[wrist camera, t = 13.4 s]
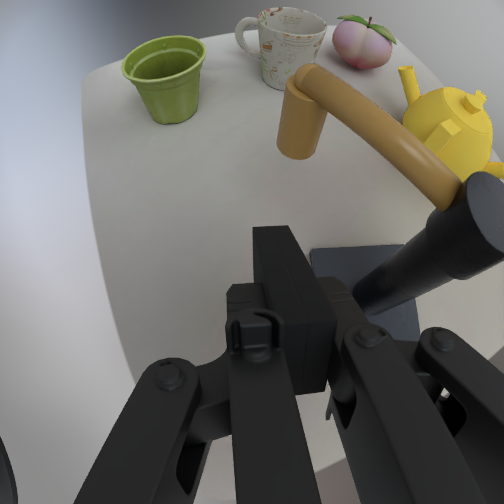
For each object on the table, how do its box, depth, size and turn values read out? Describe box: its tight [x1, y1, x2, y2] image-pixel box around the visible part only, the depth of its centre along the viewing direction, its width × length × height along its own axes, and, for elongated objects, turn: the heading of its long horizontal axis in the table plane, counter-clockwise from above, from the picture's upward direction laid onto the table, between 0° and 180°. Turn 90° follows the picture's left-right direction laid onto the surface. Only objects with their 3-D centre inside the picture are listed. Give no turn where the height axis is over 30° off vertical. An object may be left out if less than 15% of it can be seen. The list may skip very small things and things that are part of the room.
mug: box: [235, 7, 327, 91], centre depth 34 cm, size 8×13×10 cm, turn 59°
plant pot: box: [121, 36, 206, 124], centre depth 32 cm, size 9×9×9 cm
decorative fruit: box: [332, 15, 396, 69], centre depth 36 cm, size 9×8×10 cm
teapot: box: [398, 66, 504, 182], centre depth 30 cm, size 20×18×11 cm
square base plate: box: [310, 227, 454, 341], centre depth 22 cm, size 10×10×14 cm
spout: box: [277, 63, 504, 280], centre depth 16 cm, size 16×4×8 cm, turn 42°
